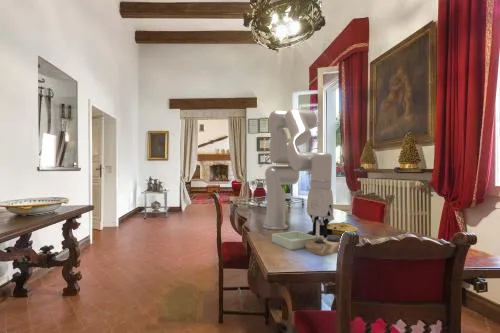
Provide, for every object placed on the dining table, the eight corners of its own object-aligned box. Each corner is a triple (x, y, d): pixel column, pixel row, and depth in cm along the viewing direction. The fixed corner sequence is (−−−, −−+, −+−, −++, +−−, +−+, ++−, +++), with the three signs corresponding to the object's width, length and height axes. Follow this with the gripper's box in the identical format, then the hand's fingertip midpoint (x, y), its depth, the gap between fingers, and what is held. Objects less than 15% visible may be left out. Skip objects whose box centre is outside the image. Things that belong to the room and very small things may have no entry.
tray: (271, 242, 131) (271, 233, 131) (297, 238, 138) (297, 230, 138) (292, 250, 119) (292, 241, 119) (318, 246, 126) (319, 237, 126)
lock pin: (313, 245, 119) (314, 219, 119) (319, 244, 121) (320, 218, 120) (319, 247, 117) (319, 220, 116) (325, 246, 118) (325, 220, 118)
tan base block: (320, 255, 113) (320, 241, 113) (305, 250, 120) (305, 236, 120) (347, 250, 120) (348, 237, 120) (332, 245, 127) (332, 233, 127)
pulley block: (298, 222, 144) (345, 217, 158) (296, 234, 145) (344, 228, 159) (318, 233, 132) (368, 227, 146) (317, 246, 132) (366, 239, 147)
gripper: (299, 184, 123) (298, 230, 124) (329, 187, 109) (327, 240, 110) (313, 183, 127) (312, 228, 127) (344, 187, 113) (343, 238, 113)
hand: (319, 233), depth 118 cm, fingers closed on lock pin, 3 cm apart
